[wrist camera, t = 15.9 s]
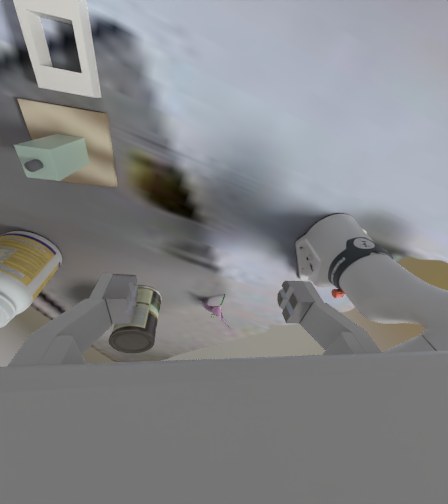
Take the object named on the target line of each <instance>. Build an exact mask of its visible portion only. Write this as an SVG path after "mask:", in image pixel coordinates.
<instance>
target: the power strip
mask: <svg viewBox="0 0 448 504" xmlns="http://www.w3.org/2000/svg"><path fill="white" fill-rule="evenodd" d="M13 2H14V5H15V9H16V12H17V15H18V19H19V22H20V26H21V29H22V32H23V36H24V39H25V43H26V46H27V49H28V53H29V56H30V60H31V63H32V66H33V70H34V73H35V77H36V80H37V83H38V87H40V88H45V89H51V90H56V91H61V92H67V93H72V94H78V95H83V96H89V97H96V98H101V91H100V85H99V78H98V72H97V66H96V59H95V53H94V46H93V40H92V34H91V27H90V21H89V14H88V8H87V2H86V0H13ZM40 17H43V18H47V19H51V20H55V21H59V22H64V23H68V24H72V25H73V29H74V34H75V40H76V45H77V50H78V55H79V61H80V66H81V71H82V73H77V72H72V71H67V70H63V69H58V68H53V66H52V62H51V58H50V54H49V50H48V46H47V42H46V38H45V34H44V30H43V26H42V22H41V18H40Z"/></svg>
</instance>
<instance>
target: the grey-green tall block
mask: <svg viewBox="0 0 448 504" xmlns="http://www.w3.org/2000/svg"><path fill="white" fill-rule="evenodd" d="M14 147H15V149H16V152H17V154H18V157H19V159H20V162H21V164H22V167H23V169H24V172H25V174H26V177H29V178H38V179H47V180H56V181H61V180H62V179H64V178H66V177H67V176H69V175H71V174H72V173H74V172H76V171H77V170H79V169H80V168H82V167H84V166H85V165H87V164H89V158H88V153H87V149H86V144H85V140H84V138H82V137H75V136H68V135H61V134H55V135H51V136H47V137H43V138H39V139H35V140H31V141H27V142H23V143H19V144H15V145H14Z"/></svg>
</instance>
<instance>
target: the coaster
mask: <svg viewBox="0 0 448 504" xmlns="http://www.w3.org/2000/svg"><path fill="white" fill-rule="evenodd" d="M18 102H19V105H20V108H21V111H22V114H23V116H24V119H25V122H26V125H27V128H28V131H29V133H30V136H31V139H32V140H35V139H39V138H43V137H47V136H51V135H55V134H61V135H68V136H75V137H82V138H84V140H85V144H86V149H87V153H88V158H89V164H87V165H85V166H84V167H82V168H80V169H79V170H77V171H76V172H74V173H72V174H71V175H69V176H67V177H66V178H64V179H62V180H61V181H62V182H71V183H80V184H89V185H98V186H107V187H117V186H118V183H117V176H116V170H115V163H114V156H113V149H112V143H111V136H110V129H109V123H108V116H107V113H102V112H96V111H91V110H85V109H79V108H73V107H67V106H62V105H56V104H50V103H44V102H39V101H33V100H27V99H18ZM46 180H47V179H46ZM53 181H56V180H53Z"/></svg>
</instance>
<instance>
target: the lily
mask: <svg viewBox="0 0 448 504" xmlns="http://www.w3.org/2000/svg"><path fill="white" fill-rule="evenodd" d="M224 297H225V294H224ZM224 297H223V300H224ZM223 300H222V303H223ZM201 302H202V301H201ZM202 303H203V302H202ZM222 303H221V304H220V306H214V307H212V306H208V305H206V304H205V303H203V304H205V305H206V306H203V307H204V308H205V309H206V310H208V311H210V312H213V313H214V314H213V315H216V316H219V318H220V320H221V321H222V322H223V323H224V324H225V322H224V321H223V319H222V318H223V316H222V312H221V305H222ZM199 304H200V303H199ZM207 306H208V307H207ZM211 315H212V314H211ZM211 317H212V316H211ZM224 320H225V319H224ZM225 321H226V320H225ZM226 322H227V321H226ZM225 325H226V324H225ZM227 326H228V325H227ZM228 327H229V326H228ZM229 328H230V327H229Z"/></svg>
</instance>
